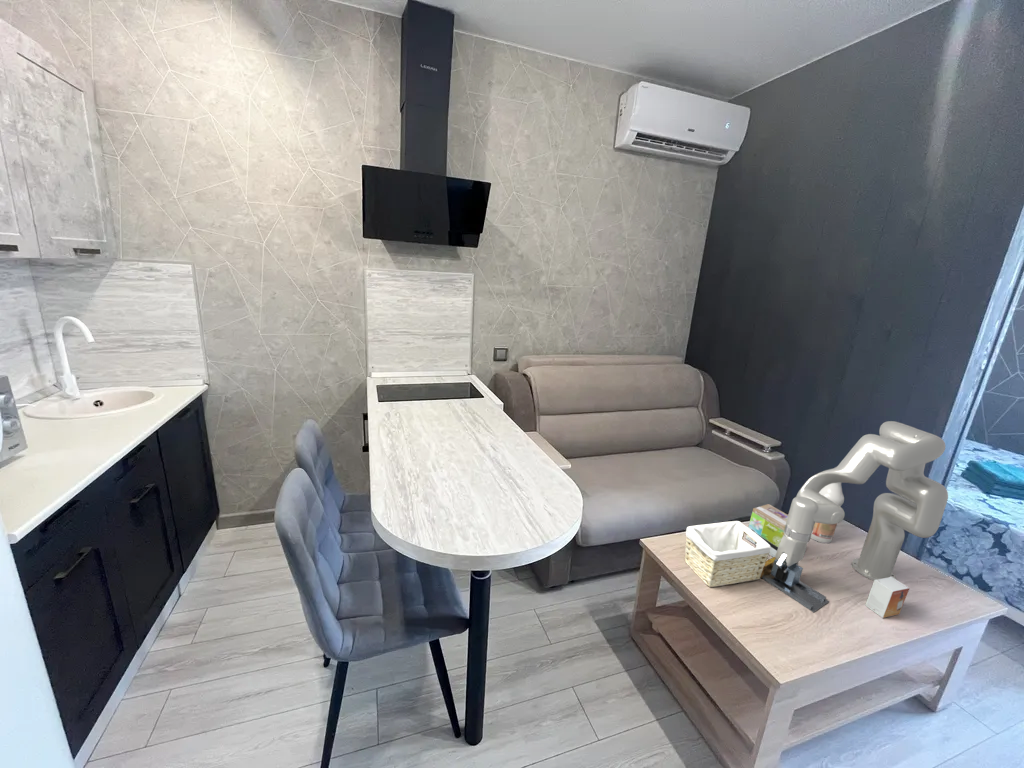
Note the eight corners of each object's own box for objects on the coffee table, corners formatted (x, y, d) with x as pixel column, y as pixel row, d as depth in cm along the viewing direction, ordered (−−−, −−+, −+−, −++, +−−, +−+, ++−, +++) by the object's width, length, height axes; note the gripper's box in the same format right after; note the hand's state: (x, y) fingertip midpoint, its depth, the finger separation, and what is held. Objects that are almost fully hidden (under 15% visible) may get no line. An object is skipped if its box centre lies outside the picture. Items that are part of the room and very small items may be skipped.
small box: (882, 618, 135) (892, 591, 132) (864, 605, 140) (873, 579, 137) (900, 614, 137) (910, 588, 134) (881, 601, 142) (891, 575, 139)
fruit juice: (800, 533, 178) (817, 474, 170) (810, 527, 183) (828, 469, 175) (825, 546, 170) (844, 484, 163) (835, 539, 175) (855, 479, 168)
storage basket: (706, 591, 142) (715, 554, 138) (677, 558, 157) (684, 524, 153) (764, 582, 148) (774, 546, 144) (731, 552, 163) (739, 519, 159)
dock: (773, 567, 156) (776, 555, 154) (828, 602, 141) (832, 589, 139) (757, 575, 151) (760, 563, 150) (813, 612, 136) (817, 599, 134)
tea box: (744, 538, 172) (752, 507, 168) (760, 533, 176) (768, 502, 172) (779, 562, 159) (789, 528, 155) (796, 556, 163) (806, 523, 159)
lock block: (778, 569, 152) (782, 555, 150) (798, 582, 146) (802, 568, 145) (770, 574, 150) (774, 559, 148) (790, 587, 144) (795, 572, 142)
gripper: (798, 520, 150) (786, 563, 155) (772, 532, 142) (760, 577, 147) (822, 532, 144) (808, 576, 149) (795, 545, 135) (782, 592, 140)
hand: (784, 576), depth 148 cm, fingers closed on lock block, 5 cm apart
